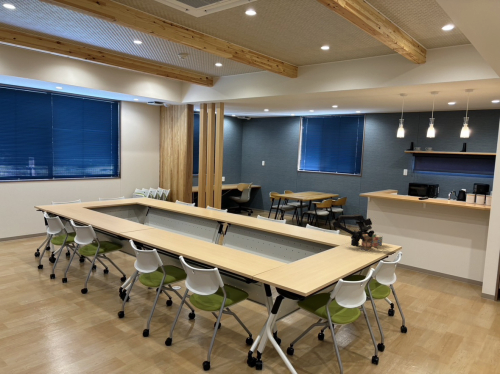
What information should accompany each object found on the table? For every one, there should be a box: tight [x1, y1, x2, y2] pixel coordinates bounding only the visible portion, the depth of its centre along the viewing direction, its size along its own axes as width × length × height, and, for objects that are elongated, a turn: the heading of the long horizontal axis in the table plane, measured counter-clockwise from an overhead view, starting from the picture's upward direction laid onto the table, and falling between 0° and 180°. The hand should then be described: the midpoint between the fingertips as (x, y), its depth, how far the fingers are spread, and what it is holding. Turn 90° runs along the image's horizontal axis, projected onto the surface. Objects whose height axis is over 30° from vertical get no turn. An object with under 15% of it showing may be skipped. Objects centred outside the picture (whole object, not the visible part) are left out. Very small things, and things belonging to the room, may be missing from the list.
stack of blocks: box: [360, 233, 383, 247], centre depth 350 cm, size 21×6×12 cm, turn 115°
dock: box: [359, 247, 374, 252], centre depth 331 cm, size 9×12×2 cm
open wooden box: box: [361, 236, 373, 249], centre depth 331 cm, size 6×6×11 cm
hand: (368, 241), depth 329 cm, fingers open, 9 cm apart
